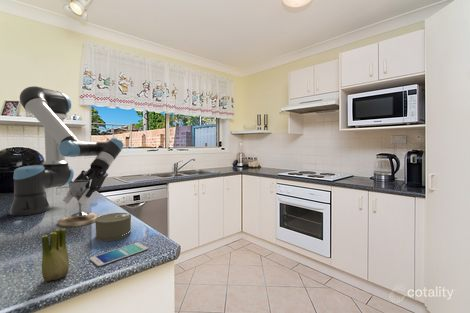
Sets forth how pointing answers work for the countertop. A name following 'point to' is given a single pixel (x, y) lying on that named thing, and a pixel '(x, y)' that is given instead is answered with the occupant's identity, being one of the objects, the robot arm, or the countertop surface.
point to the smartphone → (117, 254)
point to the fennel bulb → (54, 255)
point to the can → (113, 226)
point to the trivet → (77, 220)
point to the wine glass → (79, 193)
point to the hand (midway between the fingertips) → (72, 202)
